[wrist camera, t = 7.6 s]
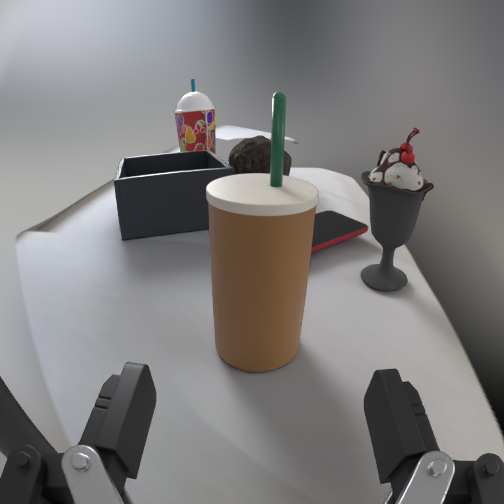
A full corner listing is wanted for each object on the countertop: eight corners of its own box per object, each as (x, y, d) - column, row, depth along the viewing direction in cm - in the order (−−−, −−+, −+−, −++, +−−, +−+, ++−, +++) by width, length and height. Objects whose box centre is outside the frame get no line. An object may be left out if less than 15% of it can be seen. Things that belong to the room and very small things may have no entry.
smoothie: (228, 170, 67) (222, 76, 58) (199, 179, 61) (190, 77, 52) (200, 167, 71) (194, 81, 62) (172, 176, 66) (163, 82, 57)
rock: (297, 174, 61) (289, 124, 56) (287, 199, 52) (277, 140, 47) (248, 177, 65) (238, 130, 59) (229, 202, 56) (216, 147, 50)
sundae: (407, 304, 26) (434, 132, 20) (342, 283, 30) (351, 121, 23) (421, 272, 31) (441, 129, 24) (365, 256, 35) (375, 119, 28)
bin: (122, 240, 38) (113, 180, 34) (125, 204, 49) (121, 158, 46) (233, 226, 42) (232, 168, 38) (210, 194, 54) (209, 149, 50)
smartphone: (233, 237, 37) (329, 209, 44) (234, 244, 37) (329, 215, 44) (271, 263, 31) (371, 226, 38) (272, 271, 31) (370, 233, 38)
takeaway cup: (227, 382, 19) (220, 89, 12) (206, 323, 25) (195, 92, 17) (314, 360, 21) (349, 97, 14) (280, 309, 26) (293, 93, 19)
